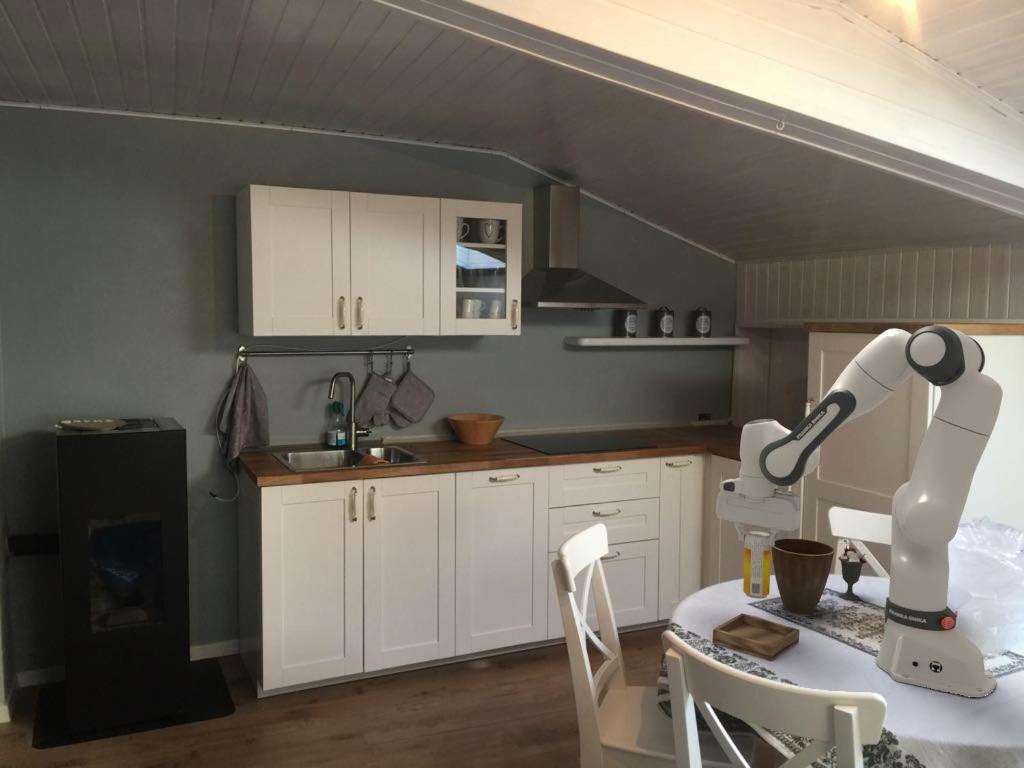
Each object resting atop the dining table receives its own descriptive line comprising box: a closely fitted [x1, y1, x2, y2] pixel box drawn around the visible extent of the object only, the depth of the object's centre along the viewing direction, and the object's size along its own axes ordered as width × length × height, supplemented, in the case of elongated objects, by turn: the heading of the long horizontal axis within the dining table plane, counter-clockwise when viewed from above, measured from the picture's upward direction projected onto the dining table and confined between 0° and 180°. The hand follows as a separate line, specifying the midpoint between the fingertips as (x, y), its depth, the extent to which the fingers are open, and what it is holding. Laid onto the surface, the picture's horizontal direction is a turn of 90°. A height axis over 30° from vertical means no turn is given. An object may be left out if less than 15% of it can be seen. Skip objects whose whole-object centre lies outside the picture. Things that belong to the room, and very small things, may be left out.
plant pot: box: [771, 537, 835, 615], centre depth 215 cm, size 15×15×16 cm
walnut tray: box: [712, 613, 801, 662], centre depth 193 cm, size 14×14×3 cm
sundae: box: [837, 539, 867, 601], centre depth 225 cm, size 7×7×15 cm
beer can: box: [742, 530, 772, 600], centre depth 208 cm, size 6×6×15 cm
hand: (756, 543), depth 207 cm, fingers closed on beer can, 6 cm apart
